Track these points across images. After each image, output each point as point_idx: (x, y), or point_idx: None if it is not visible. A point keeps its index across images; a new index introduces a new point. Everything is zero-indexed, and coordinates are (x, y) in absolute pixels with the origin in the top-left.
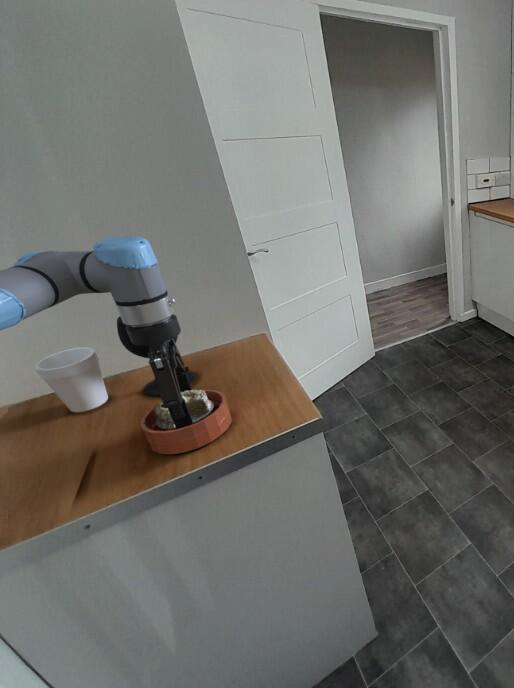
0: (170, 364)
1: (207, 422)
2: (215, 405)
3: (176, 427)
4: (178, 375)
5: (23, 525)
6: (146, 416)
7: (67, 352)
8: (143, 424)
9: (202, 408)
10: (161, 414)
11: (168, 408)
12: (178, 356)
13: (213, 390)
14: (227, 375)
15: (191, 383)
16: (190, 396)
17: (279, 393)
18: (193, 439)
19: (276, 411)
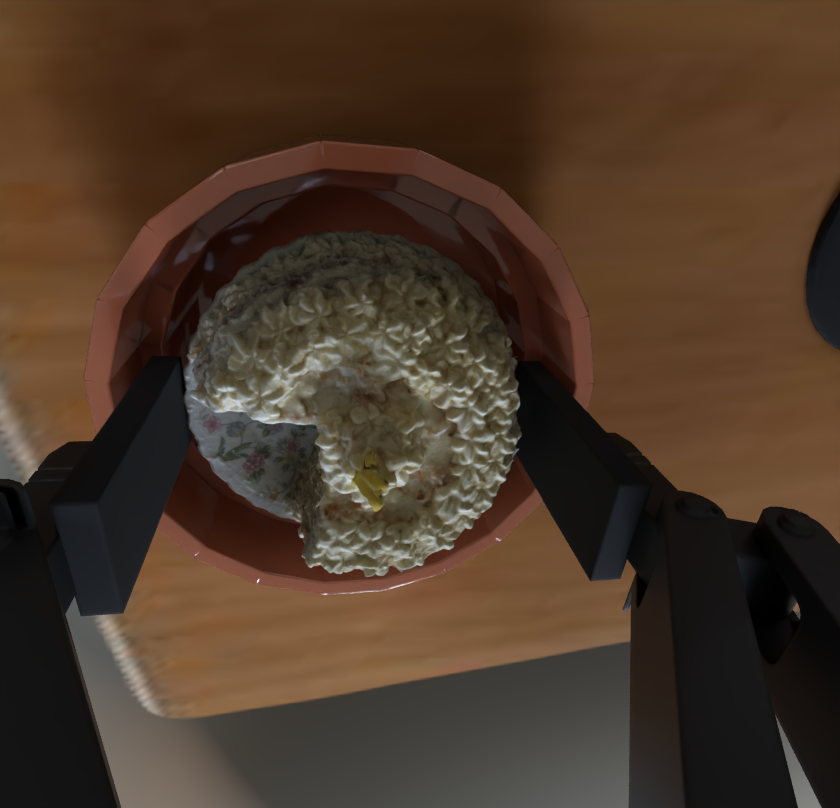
0: (656, 696)
1: None
2: None
3: (145, 373)
4: (624, 537)
5: None
6: (433, 182)
7: None
8: (315, 162)
9: (308, 500)
10: (253, 331)
11: (67, 479)
12: (791, 727)
13: (491, 541)
14: (758, 474)
15: (827, 339)
16: (406, 497)
17: (437, 635)
18: None
19: (302, 626)
